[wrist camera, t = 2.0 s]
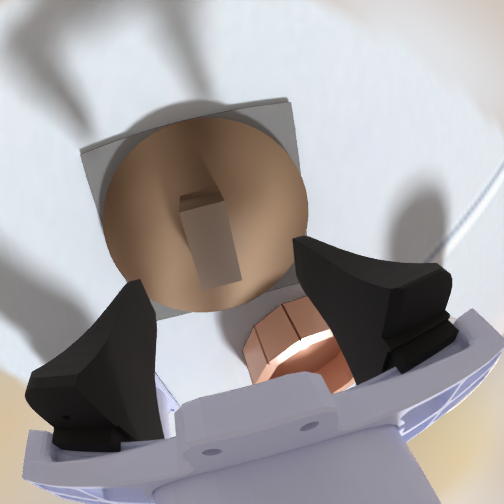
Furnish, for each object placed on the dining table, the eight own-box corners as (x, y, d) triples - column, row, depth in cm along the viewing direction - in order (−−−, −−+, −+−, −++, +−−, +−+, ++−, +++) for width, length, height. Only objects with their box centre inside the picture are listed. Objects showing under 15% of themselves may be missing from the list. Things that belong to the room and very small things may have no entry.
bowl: (254, 389, 29) (264, 421, 25) (232, 318, 23) (243, 356, 19) (348, 357, 30) (365, 383, 27) (357, 279, 25) (383, 307, 21)
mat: (147, 320, 21) (147, 322, 21) (81, 154, 14) (80, 155, 14) (308, 277, 23) (309, 279, 23) (289, 102, 16) (290, 102, 16)
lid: (147, 322, 21) (144, 358, 18) (80, 154, 14) (54, 165, 11) (309, 278, 23) (330, 307, 19) (290, 102, 16) (318, 99, 12)
